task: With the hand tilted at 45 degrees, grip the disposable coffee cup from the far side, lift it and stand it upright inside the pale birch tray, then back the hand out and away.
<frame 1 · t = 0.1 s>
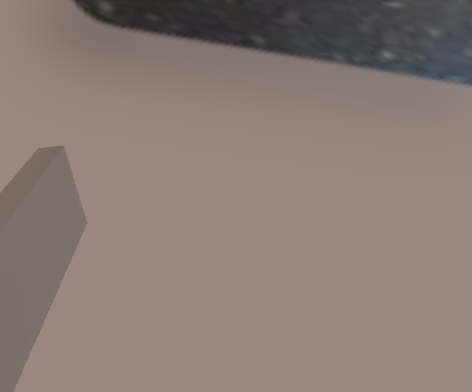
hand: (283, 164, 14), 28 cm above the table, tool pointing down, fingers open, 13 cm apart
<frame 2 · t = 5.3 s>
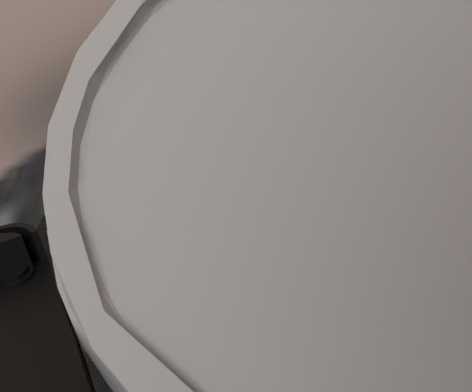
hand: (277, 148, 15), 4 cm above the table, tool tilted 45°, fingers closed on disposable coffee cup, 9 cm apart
disposable coffee cup: (280, 260, 18), on the table, touching gripper
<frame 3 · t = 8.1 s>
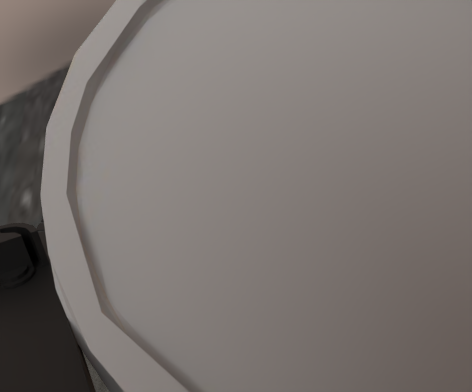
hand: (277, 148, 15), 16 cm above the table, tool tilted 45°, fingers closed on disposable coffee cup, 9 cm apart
disposable coffee cup: (279, 260, 18), point 12 cm above the table, touching gripper
when the fingers open (6 cm above the table, at t = 11.3 s): disposable coffee cup drops 1 cm, resting on birch tray.
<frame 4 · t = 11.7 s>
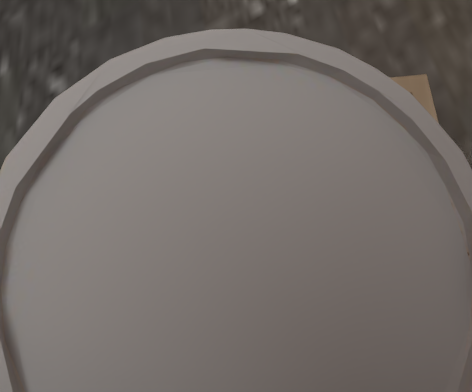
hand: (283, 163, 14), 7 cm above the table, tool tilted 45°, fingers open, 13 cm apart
birch tray: (276, 266, 20), on the table
disposable coffee cup: (220, 291, 19), point 1 cm above the table, touching birch tray, gripper
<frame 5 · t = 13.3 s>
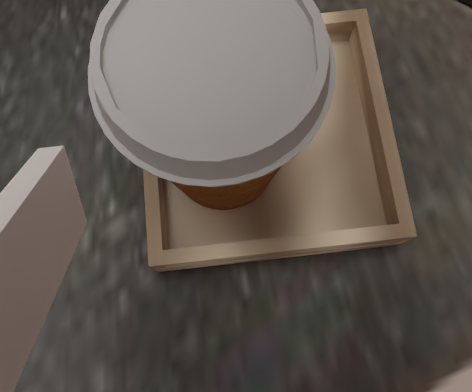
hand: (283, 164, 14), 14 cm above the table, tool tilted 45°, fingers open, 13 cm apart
birch tray: (263, 146, 29), on the table
disposable coffee cup: (223, 162, 27), point 1 cm above the table, touching birch tray
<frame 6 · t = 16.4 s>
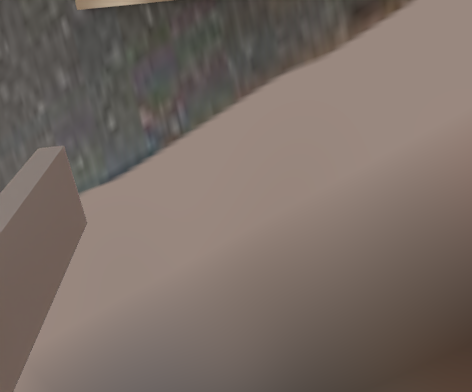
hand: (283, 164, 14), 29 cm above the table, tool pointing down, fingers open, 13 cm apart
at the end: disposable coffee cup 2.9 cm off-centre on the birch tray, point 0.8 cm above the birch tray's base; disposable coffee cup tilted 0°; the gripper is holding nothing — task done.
